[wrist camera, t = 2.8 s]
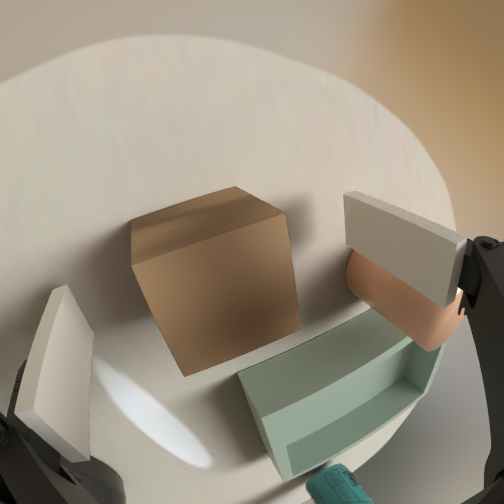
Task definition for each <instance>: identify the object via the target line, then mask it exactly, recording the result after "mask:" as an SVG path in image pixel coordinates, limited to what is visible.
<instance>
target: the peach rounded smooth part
mask: <svg viewBox="0 0 504 504" xmlns="http://www.w3.org/2000/svg"><path fill="white" fill-rule="evenodd" d="M346 282H347V286H348V288H349V289H350V291H351V292H352V293H354V294H355V295H356V296H358V297H359V298H360V299H361V300H363V301H364V302H365V303H367V304H368V305H369V306H370V307H372V308H373V309H374V310H375V311H377V312H378V313H379V314H381V315H382V316H383V317H384V318H386V319H387V320H388V321H389V322H391V323H392V324H393V325H395V326H396V327H397V328H398V329H400V330H401V331H402V332H403V333H405V334H406V335H407V336H408V337H410V338H411V339H412V340H413V341H415V342H416V343H417V344H418V345H420V346H421V347H422V348H423V349H424V350H426V351H428V352H429V351H433V350H435V349H437V348H439V347H440V346H441V345H442V344H443V343H445V342H446V341H447V340H448V339H449V337H450V336H451V335H452V334H453V333H454V331H455V330H456V328H457V327H458V326H459V324H460V322H461V321H462V319H463V317H464V315H463V314H464V310H465V308H462V310H461V314H460V315H458V308H459V305H460V301H461V297H462V294H463V290H461V289H460V288H458V289H457V293H456V297H455V301H454V302H453V303H451V304H450V305H449V306H447V307H446V308H445V309H443V308H441V307H440V306H439V305H437V304H436V303H434V302H433V301H431V300H430V299H428V298H427V297H426V296H424V295H423V294H421V293H420V292H418V291H417V290H415V289H414V288H412V287H411V286H409V285H408V284H406V283H405V282H403V281H402V280H400V279H399V278H397V277H396V276H394V275H393V274H391V273H390V272H388V271H387V270H385V269H384V268H382V267H380V266H379V265H377V264H376V263H374V262H373V261H371V260H370V259H368V258H366V257H365V256H363V255H362V254H360V253H359V252H357V251H355V250H353V252H352V254H351V256H350V258H349V261H348V264H347V269H346Z"/></svg>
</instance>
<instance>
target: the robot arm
mask: <svg viewBox="0 0 504 504" xmlns="http://www.w3.org/2000/svg"><path fill="white" fill-rule="evenodd" d="M343 198H344V214H345V234H346V245H347V246H349V247H351V248H352V249H354V250H355V251H357V252H359V253H360V254H362V255H363V256H365V257H366V258H368V259H370V260H371V261H373V262H374V263H376V264H377V265H379V266H380V267H382V268H384V269H385V270H387V271H388V272H390V273H391V274H393V275H394V276H396V277H397V278H399V279H400V280H402V281H403V282H405V283H406V284H408V285H409V286H411V287H412V288H414V289H415V290H417V291H418V292H420V293H421V294H423V295H424V296H426V297H427V298H428V299H430V300H431V301H433V302H434V303H436V304H437V305H439V306H440V307H441V308H443V309H445V308H446V307H447V306H449V305H450V304H451V303H453V302H454V301H455V297H456V293H457V289H458V288H460V289H461V290H463V294H462V297H461V301H460V305H459V308H458V315H460V314H461V310H462V308H465V310H464V314H463V315H467V317H468V321H469V324H470V328H471V331H472V335H473V338H474V342H475V346H476V350H477V354H478V358H479V363H480V368H481V372H482V377H483V383H484V388H485V394H486V400H487V407H488V415H489V423H490V433H491V451H490V454H489V456H488V459H487V461H486V465H485V470H484V471H485V472H484V490H482V491H481V492H479V493H478V494H476V495H475V496H473V497H471V498H470V499H468V500H466V501H464V502H463V503H461V504H504V242H499V241H498V240H496V239H493V238H490V237H486V236H478V237H476V238H475V239H474V241H472V240H470V239H468V238H467V237H465V236H463V235H460V234H459V233H456V232H454V231H452V230H450V229H448V228H446V227H443V226H441V225H439V224H437V223H435V222H432V221H430V220H428V219H425V218H423V217H421V216H418V215H416V214H414V213H411V212H409V211H406V210H404V209H402V208H399V207H397V206H394V205H392V204H389V203H387V202H384V201H381V200H379V199H376V198H374V197H371V196H368V195H366V194H363V193H360V192H357V191H352V192H349V193H345V194H343ZM93 342H94V332H93V331H92V329H91V327H90V326H89V324H88V322H87V320H86V319H85V317H84V315H83V313H82V312H81V310H80V308H79V306H78V304H77V302H76V300H75V299H74V297H73V295H72V293H71V291H70V289H69V287H68V285H67V284H66V285H63V286H61V287H58V288H55V289H53V291H52V293H51V295H50V298H49V300H48V303H47V305H46V308H45V310H44V313H43V316H42V318H41V321H40V324H39V326H38V329H37V332H36V335H35V338H34V341H33V344H32V347H31V350H30V353H29V356H28V359H27V360H25V361H24V362H23V364H22V366H21V367H20V369H19V370H18V374H17V377H16V381H15V382H16V384H14V388H13V393H12V396H11V400H10V404H9V408H8V413H7V418H6V417H5V416H4V415H3V414H2V413H1V412H0V504H126V496H125V491H124V486H123V481H122V479H121V477H120V476H119V475H118V474H117V473H116V472H115V471H114V470H113V469H112V468H110V467H109V466H107V465H106V464H104V463H102V462H101V461H99V460H97V459H95V458H93V457H90V445H89V399H90V377H91V363H92V352H93Z"/></svg>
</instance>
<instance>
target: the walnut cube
mask: <svg viewBox="0 0 504 504" xmlns="http://www.w3.org/2000/svg"><path fill="white" fill-rule="evenodd" d="M131 267H132V269H133V271H134V274H135V276H136V279H137V281H138V283H139V286H140V288H141V290H142V293H143V295H144V297H145V299H146V302H147V304H148V306H149V308H150V310H151V313H152V315H153V317H154V319H155V321H156V323H157V325H158V327H159V329H160V331H161V333H162V336H163V338H164V340H165V342H166V344H167V346H168V347H169V349H170V351H171V353H172V355H173V357H174V359H175V361H176V363H177V365H178V367H179V368H180V370H181V372H182V374H183V376H184V377H186V376H189V375H191V374H194V373H197V372H200V371H202V370H205V369H208V368H210V367H213V366H216V365H218V364H221V363H223V362H226V361H228V360H231V359H233V358H236V357H238V356H241V355H243V354H246V353H248V352H250V351H253V350H255V349H258V348H260V347H262V346H265V345H267V344H269V343H272V342H274V341H276V340H278V339H281V338H283V337H285V336H287V335H289V334H292V333H294V332H296V331H298V330H300V329H301V326H300V318H299V309H298V301H297V293H296V285H295V278H294V270H293V263H292V255H291V248H290V241H289V234H288V228H287V221H286V214H285V213H284V212H282V211H281V210H279V209H277V208H275V207H273V206H271V205H270V204H268V203H266V202H264V201H262V200H260V199H259V198H257V197H255V196H253V195H251V194H249V193H247V192H245V191H244V190H242V189H240V188H238V187H236V186H234V187H231V188H227V189H224V190H220V191H217V192H214V193H210V194H207V195H204V196H201V197H197V198H194V199H191V200H188V201H185V202H182V203H179V204H176V205H173V206H170V207H167V208H164V209H161V210H158V211H155V212H152V213H149V214H146V215H143V216H140V217H137V218H135V219H132V220H131Z"/></svg>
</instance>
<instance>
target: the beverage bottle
mask: <svg viewBox="0 0 504 504" xmlns="http://www.w3.org/2000/svg"><path fill="white" fill-rule="evenodd" d="M348 470H349V469H348ZM348 470H347V468H346V467H345V466H344V465H343V464H336V465H333V466H331V467H328V468H326V469H325V470H323V471H321V472H319V473H318V474H316V475H315V476H313V477H312V478H311V479H309V480H308V481H307V482H306V484H305V485H306V489H307V490H308V492H309V493H310V495H309V496H312V498H313V499H314V501H315V502H316V504H374V502H373V501H372V500H371V499H370V497H369V496H368V495H367V493H365V491H364V490H363V489H362V488H361V486H360V485H359V484H358V483H357V481H356V480H355V478H354V477H353V475H352V474H351V472H350V471H348ZM308 492H307V493H308Z"/></svg>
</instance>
